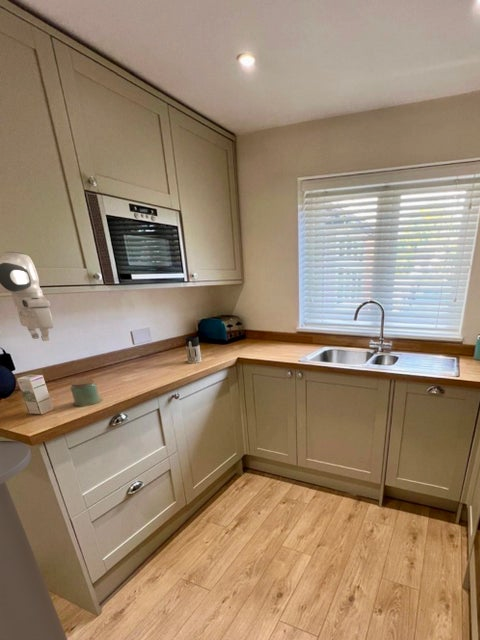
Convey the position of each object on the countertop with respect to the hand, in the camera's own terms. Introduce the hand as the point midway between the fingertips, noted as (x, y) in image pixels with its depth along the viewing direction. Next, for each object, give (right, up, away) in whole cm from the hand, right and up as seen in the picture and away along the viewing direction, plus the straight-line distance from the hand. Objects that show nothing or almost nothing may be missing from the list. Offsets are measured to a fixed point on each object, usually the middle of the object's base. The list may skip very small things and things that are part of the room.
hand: (40, 339), depth 124 cm
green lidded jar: (+8, -24, +14) cm, 29 cm away
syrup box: (-4, -28, +5) cm, 28 cm away
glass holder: (+30, 0, +78) cm, 84 cm away
